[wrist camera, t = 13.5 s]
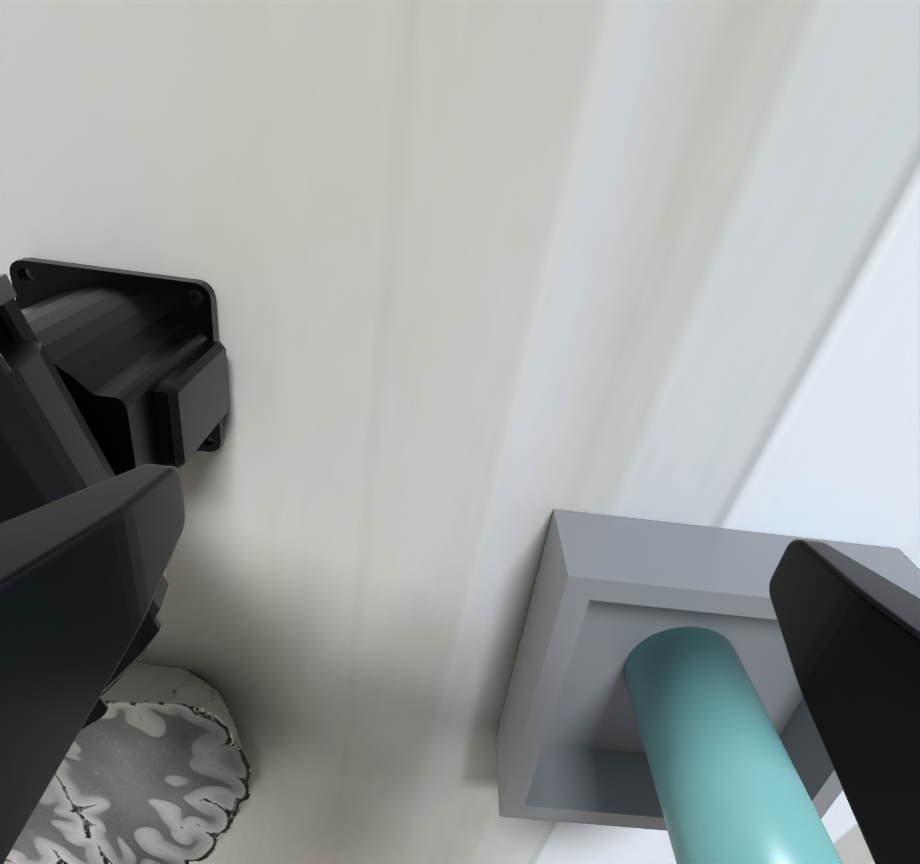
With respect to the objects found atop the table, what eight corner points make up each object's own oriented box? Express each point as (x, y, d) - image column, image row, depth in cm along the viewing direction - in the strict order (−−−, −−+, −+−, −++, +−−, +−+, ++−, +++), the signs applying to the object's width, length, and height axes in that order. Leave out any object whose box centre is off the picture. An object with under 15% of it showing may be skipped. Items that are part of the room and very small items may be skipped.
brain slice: (-11, 828, 37) (-48, 883, 34) (-163, 630, 29) (-227, 682, 26) (302, 820, 36) (289, 876, 33) (236, 615, 28) (213, 667, 25)
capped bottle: (637, 713, 29) (748, 1100, 18) (611, 644, 27) (719, 1036, 15) (744, 688, 28) (935, 1079, 17) (726, 614, 26) (932, 1007, 14)
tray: (495, 737, 31) (499, 816, 28) (553, 509, 24) (568, 576, 21) (766, 762, 32) (803, 842, 29) (898, 548, 25) (969, 619, 22)
